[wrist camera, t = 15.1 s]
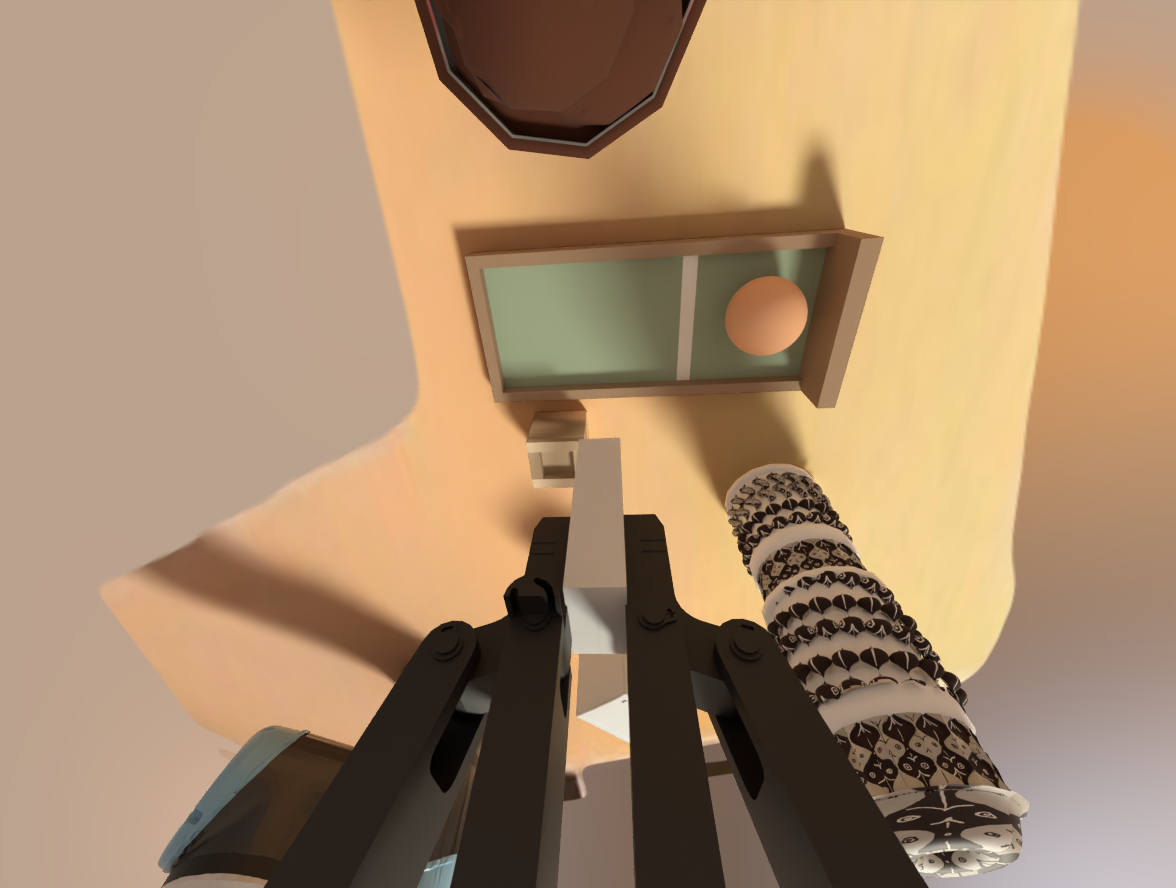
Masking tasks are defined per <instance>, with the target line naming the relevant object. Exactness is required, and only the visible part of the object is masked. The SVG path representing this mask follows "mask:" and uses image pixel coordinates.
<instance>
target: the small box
mask: <svg viewBox="0 0 1176 888" xmlns="http://www.w3.org/2000/svg"><path fill="white" fill-rule="evenodd" d="M576 717H578V718H580V719H582V720H584V721H586V722H588V723H590V724H592V725H594V726H596V727H598V728H600V729H602V730H604V731H606V732H608V733H610V734H612V735H614V736H616V737H618V738H620V739H622V740H624V741H626V742H628V743H630V737H629V710H628V685H627V654H579V670H578V689H577V708H576Z"/></svg>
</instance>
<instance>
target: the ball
mask: <svg viewBox="0 0 1176 888" xmlns="http://www.w3.org/2000/svg"><path fill="white" fill-rule="evenodd" d="M807 315H808V308H807V302H806V299H805V296H804V295H803V293H802V291H801V290H800V289H799V287H798V286H797V285H795V284H794V283H793V282H791V281H789V280H787V279H785V278H782V277H777V276H765V277H760V278H756V279H754V280H752V281H750V282H748V283H746V284H745V285H743V286H742V287H741V288H740V289H739V290H738V291H737V292H736V293H735V294H734V295H733V297H732V298H731V300H730V302H729V304H728V307H727V310H726V314H725V327H726V331H727V334H728V336H729V338H730V339H731V341H732V342H733V343H734V345H735V346H736V347H738V348H739V349H740V350H742V351H744V352H746V353H748V354H752V355H758V356H765V355H771V354H775V353H778V352H780V351H782V350H784V349H786V348H787V347H789V346H790V345H791V344H792V343H794V342H795V341H796V340H797V338H798V337H799V336H800V334H801V333H802V331H803V329H804V327H805V324H806V321H807Z"/></svg>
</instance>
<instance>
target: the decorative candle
mask: <svg viewBox="0 0 1176 888" xmlns="http://www.w3.org/2000/svg"><path fill="white" fill-rule="evenodd" d="M724 506H725V508H726V511H727V514H728V517H729V520H728V522H729V523H730V524H732V527H734V529H733V532H732V534H733V535H734V536H736V537H737V536H738V541H737V544H738V549H739V551H740V552H741V553H742V554H743V564H744V565H745V566H746V567H747V571H748V573H749V574H750V575H751V576H753V578H754V581H755V584H756V586H757V589H758V591H759V592H761V594H762V596H763V599H764V602H765V603H764V606H763V609H762V614H763V617H764V619H765V622H766V625H767V630H768V633H769V634H770V635H771V636H772V638H773V639H774V640H775V642H776V644H777V645H778V647H779V648H780V650H781V652H782V653H783V655H784V656H785V658H786V660H787V661H788V663H789V664H790V666H791V668H792V669H793V671H794V672H795V674H796V676H797V677H798V679H799V680H800V682H801V684H802V685H803V687H804V688H805V690H806V692H807V693H808V695H809V697H810V698H811V700H812V701H813V703H814V705H815V706H816V708H817V709H818V711H819V713H820V714H821V716H822V717H823V719H824V721H825V722H826V724H827V725H828V727H829V729H830V730H831V732H832V733H833V735H834V737H835V738H836V740H837V741H838V743H839V745H840V746H841V748H842V749H843V751H844V753H845V754H846V756H847V758H848V759H849V761H850V762H851V764H852V766H853V767H854V769H855V770H856V772H857V774H858V775H859V777H860V778H861V780H862V782H863V783H864V785H865V786H866V788H867V790H868V791H869V793H870V794H871V796H872V798H873V799H874V801H875V802H876V804H877V806H878V807H879V809H880V810H881V812H882V814H883V815H884V817H885V819H886V820H887V822H888V823H889V825H890V827H891V828H892V830H893V831H894V833H895V835H896V836H897V838H898V839H899V841H900V843H901V844H902V846H903V847H904V849H905V851H906V852H907V854H908V855H909V857H910V859H911V860H912V862H913V863H914V865H915V867H916V868H917V870H918V871H919V873H920V875H921V876H922V877H938V878H942V877H961V876H968V875H975V874H982V873H986V872H990V871H993V870H997V869H1000V868H1003V867H1005V866H1006V865H1008V864H1010V863H1012V862H1014V861H1015V860H1016V859H1017V858H1018V856H1019V854H1020V850H1021V848H1022V833H1021V825H1020V820H1021V819H1022V818H1024V817H1026V815H1027V812H1028V809H1029V805H1030V803H1029V802H1027V801H1026V800H1025V799H1024V798H1022V796H1020V795H1019V794H1018V793H1016V792H1012V791H1010V790H1009V789H1008V787H1007V786H1006V785H1005V783H1004V782H1003V779H1002V778H1001V775H1000V773H999V771H998V769H997V768H996V767H995V765H994V764H993V763H992V761H991V760H990V758H989V756H988V754H986V753H985V752H984V751H983V749H982V747H981V746H980V744H979V742H978V740H977V737H976V736H975V732H976V729H975V727H974V726H973V724H972V723H971V721H970V720H969V718H968V717H967V716H966V712H965V709H964V708H963V706H965V704H966V703H967V699H968V698H967V694H966V693H965V691H964V690H963V689H961V688H960V686H961V683H960V680H959V679H958V677H957V676H955V675H954V674H952V673H950V672H947V671H944V668H943V667H942V665H941V664H940V658H939V656H938V655H937V654H936V653H935V652H934V651H932V646H931V644H930V642H929V641H928V640H927V639H926V638H924V637H923V636H922V634H921V633H920V632H919V631H917V630H916V628H917V624H916V622H915V620H914V619H913V618H911V617H910V616H907V615H903V611H902V610H901V606H900V604H899V603H898V602H897V601H895V600H894V595H893V593H892V592H891V590H889V589H888V588H887V587H886V585H885V584H884V583H883V582H882V581H881V580H880V579H879V578H878V577H877V576H876V575H875V574H874V573H871V572H868V571H867V570H866V568H865V567H864V566H863V565H862V563H861V561H860V555H859V552H858V551H857V549H856V548H855V546H854V545H853V543H852V537H851V536H850V535H849V534H848V532H849V530H848V528H847V526H846V525H844V524H842V523H841V522H840V521H839V515H838V513H837V512H836V511H833V508H832V507H831V503H830V501H829V499H828V498H827V497H826V496H825V495H824V494H822V489H821V487H820V486H819V485H818V484H816V482H815V480H814V479H813V478H812V477H811V476H810V475H809V474H808V473H807V472H806V470H805V469H802V468H799V467H797V466H794V465H791V464H767V465H764V466H761V467H757V468H754V469H751V470H750V471H748V472H747V473H745V474H744V475H742V476H741V477H739V478H738V479H736V481H735V482H734V483H733V485H732V486H731V487H730V489H729V490H728V491H727V495H726V500H725V505H724ZM735 527H737V528H735ZM902 624H903V625H904V626H903V625H902ZM776 636H777V637H776ZM921 655H922V656H923V658H921ZM940 678H941V679H942V680H943V682H944V683H945V684H946V685H947V686H948V687H946V688H947V690H948V692H949V694H948V693H947V692H946V691H945V689H944V687H940V685H939V684H938V681H939V679H940Z"/></svg>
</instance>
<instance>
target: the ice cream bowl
mask: <svg viewBox="0 0 1176 888" xmlns="http://www.w3.org/2000/svg"><path fill="white" fill-rule="evenodd" d="M706 1H707V0H415V3H416V6H417V10H418V13H419V16H420V19H421V22H422V26H423V29H424V32H425V35H426V38H427V42H428V45H429V48H430V51H431V55H432V58H433V61H434V64H435V67H436V71H437V74H438V77H439V80H440V81H441V82H442V83H443V84H444V85H445V86H446V87H447V88H448V89H449V90H450V91H451V92H452V93H453V94H454V95H455V96H456V97H457V98H458V99H459V100H460V101H461V102H462V103H463V104H464V105H465V106H466V107H467V108H468V109H469V110H470V111H471V112H472V113H473V114H474V115H475V116H476V117H477V118H478V119H479V120H480V121H481V122H482V123H483V124H484V125H485V126H486V127H487V128H488V129H489V130H490V131H491V132H492V133H493V134H494V135H495V136H496V137H497V138H498V139H499V140H500V141H501V142H502V143H503V144H504V145H505V146H506V147H507V148H508V149H509V150H518V151H526V152H535V153H543V154H552V155H560V156H568V157H577V158H585V159H589V158H591V157H592V156H594V155H595V154H596V153H598V152H599V151H601V150H602V149H603V148H605V147H606V146H608V145H609V144H610V143H612V142H613V141H615V140H616V139H617V138H619V137H620V136H622V135H623V134H624V133H626V132H627V131H629V130H630V129H632V128H633V127H634V126H636V125H637V124H639V123H640V122H641V121H643V120H644V119H646V118H647V117H648V116H650V115H651V114H653V113H654V112H655V111H657V110H658V109H660V108H661V107H662V106H663V103H664V101H665V99H666V96H667V94H668V91H669V89H670V87H671V84H672V82H673V79H674V77H675V75H676V72H677V70H678V68H679V65H680V63H681V60H682V58H683V56H684V53H685V51H686V48H687V46H688V44H689V41H690V39H691V36H692V34H693V32H694V29H695V27H696V25H697V22H698V20H699V17H700V15H701V13H702V10H703V8H704V5H705V3H706Z"/></svg>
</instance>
